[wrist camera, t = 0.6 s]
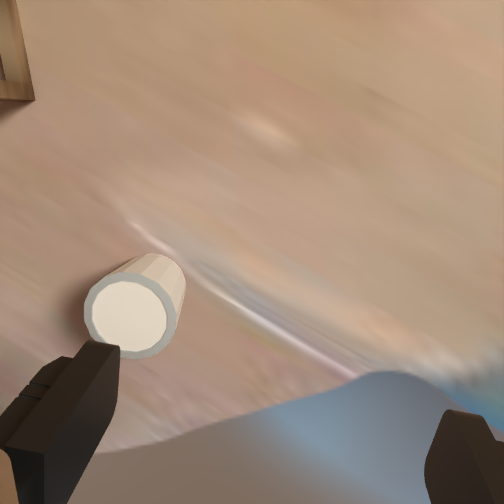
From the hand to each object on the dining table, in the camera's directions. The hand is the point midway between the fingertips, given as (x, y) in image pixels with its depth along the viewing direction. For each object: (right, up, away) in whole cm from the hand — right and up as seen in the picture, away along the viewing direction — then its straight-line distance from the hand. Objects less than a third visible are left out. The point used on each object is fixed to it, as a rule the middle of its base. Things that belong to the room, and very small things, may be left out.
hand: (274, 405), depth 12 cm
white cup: (-9, +1, +29) cm, 31 cm away
